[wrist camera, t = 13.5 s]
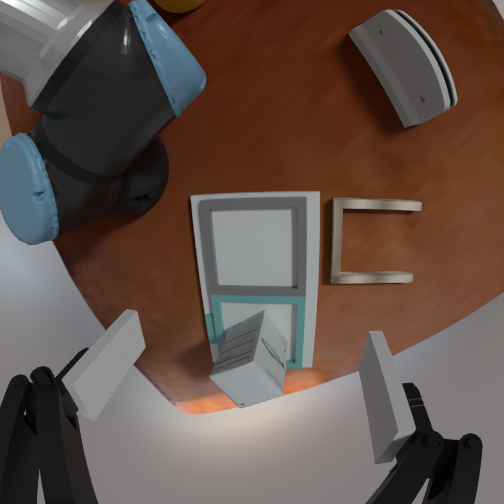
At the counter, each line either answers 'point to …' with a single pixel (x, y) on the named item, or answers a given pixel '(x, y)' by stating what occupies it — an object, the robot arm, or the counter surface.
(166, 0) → the beer bottle
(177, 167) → the counter surface
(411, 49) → the gray curved slotted casing
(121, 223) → the counter surface
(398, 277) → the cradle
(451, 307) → the counter surface
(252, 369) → the supplement box
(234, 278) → the pocket plate
